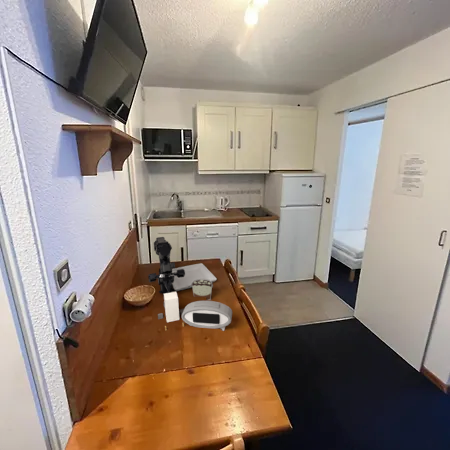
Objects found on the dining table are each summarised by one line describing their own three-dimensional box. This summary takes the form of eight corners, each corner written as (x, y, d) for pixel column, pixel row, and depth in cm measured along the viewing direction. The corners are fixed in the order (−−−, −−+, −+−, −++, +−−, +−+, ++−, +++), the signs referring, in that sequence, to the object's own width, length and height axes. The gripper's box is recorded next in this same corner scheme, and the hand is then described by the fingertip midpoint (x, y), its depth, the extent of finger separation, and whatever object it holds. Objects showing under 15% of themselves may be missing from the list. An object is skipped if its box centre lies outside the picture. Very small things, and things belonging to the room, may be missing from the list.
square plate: (164, 275, 171) (164, 270, 170) (202, 267, 182) (202, 262, 181) (175, 294, 147) (174, 288, 146) (217, 284, 159) (217, 278, 158)
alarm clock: (181, 329, 118) (180, 305, 114) (185, 320, 124) (184, 297, 120) (231, 332, 115) (231, 308, 112) (232, 323, 121) (232, 300, 118)
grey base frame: (156, 305, 136) (156, 300, 135) (181, 301, 140) (180, 296, 139) (160, 337, 112) (160, 332, 111) (190, 331, 116) (190, 325, 115)
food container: (214, 294, 147) (214, 278, 144) (213, 300, 141) (212, 284, 138) (194, 293, 148) (193, 277, 145) (191, 298, 142) (190, 283, 139)
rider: (165, 316, 126) (163, 293, 122) (177, 314, 128) (176, 291, 124) (167, 324, 120) (165, 300, 117) (179, 321, 122) (178, 297, 119)
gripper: (146, 259, 127) (149, 290, 120) (183, 255, 133) (188, 283, 126) (147, 267, 136) (150, 296, 129) (181, 262, 142) (186, 289, 135)
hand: (168, 291), depth 129 cm, fingers closed
